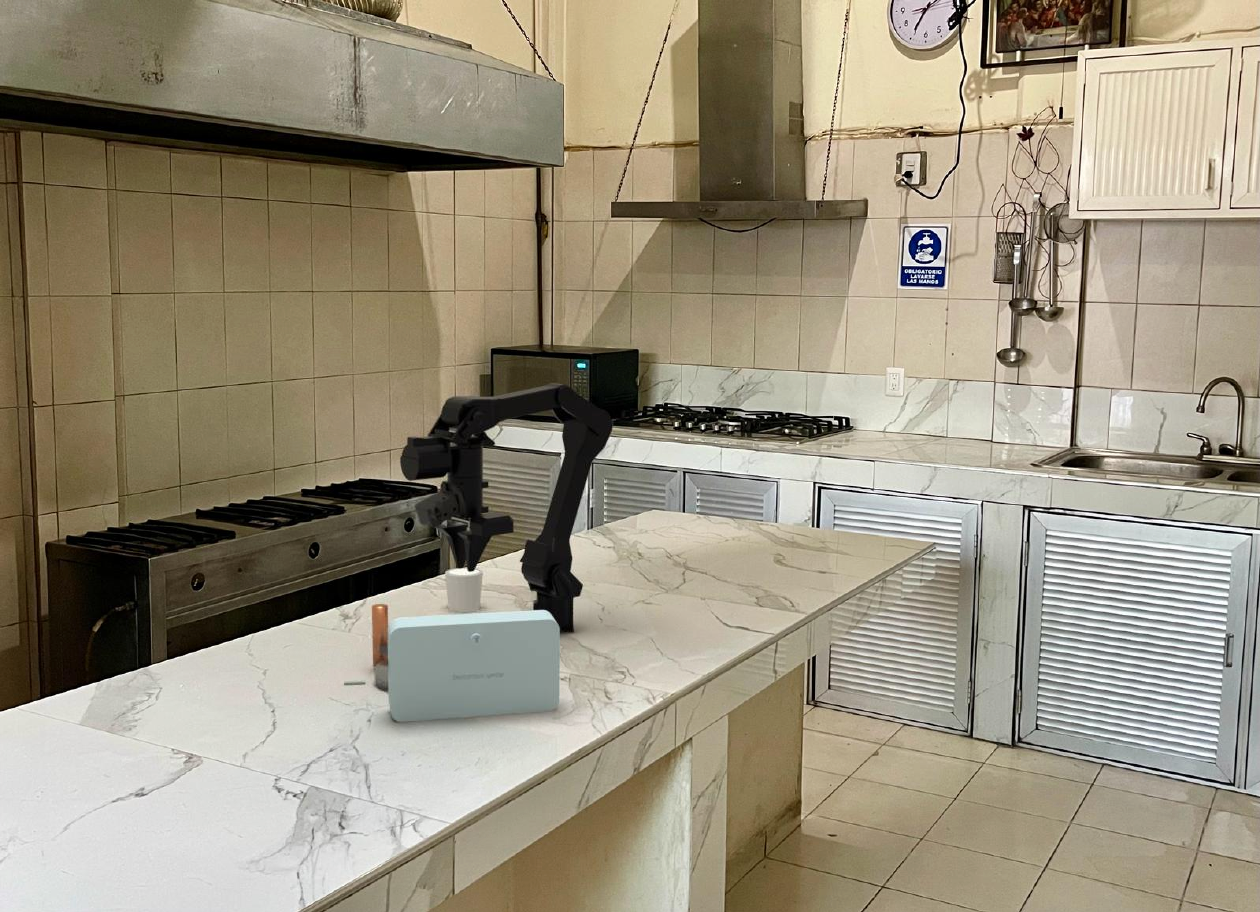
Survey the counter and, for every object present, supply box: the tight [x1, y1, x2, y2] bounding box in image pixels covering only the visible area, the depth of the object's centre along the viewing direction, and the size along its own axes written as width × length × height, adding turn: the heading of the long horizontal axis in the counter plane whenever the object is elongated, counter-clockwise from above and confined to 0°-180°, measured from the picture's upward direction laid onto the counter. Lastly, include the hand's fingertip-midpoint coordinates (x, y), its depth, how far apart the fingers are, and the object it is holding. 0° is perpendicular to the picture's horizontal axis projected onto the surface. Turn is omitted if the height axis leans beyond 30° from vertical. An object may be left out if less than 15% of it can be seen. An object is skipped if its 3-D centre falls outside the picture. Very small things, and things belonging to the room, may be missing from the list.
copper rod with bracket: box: [371, 603, 389, 669], centre depth 184 cm, size 7×2×10 cm, turn 43°
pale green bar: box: [343, 680, 366, 686], centre depth 180 cm, size 3×1×1 cm, turn 98°
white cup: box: [444, 567, 484, 614], centre depth 222 cm, size 7×7×7 cm
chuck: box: [374, 659, 389, 692], centre depth 180 cm, size 10×10×7 cm
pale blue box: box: [388, 609, 561, 723], centre depth 168 cm, size 23×6×13 cm, turn 104°
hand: (465, 569), depth 197 cm, fingers open, 3 cm apart
